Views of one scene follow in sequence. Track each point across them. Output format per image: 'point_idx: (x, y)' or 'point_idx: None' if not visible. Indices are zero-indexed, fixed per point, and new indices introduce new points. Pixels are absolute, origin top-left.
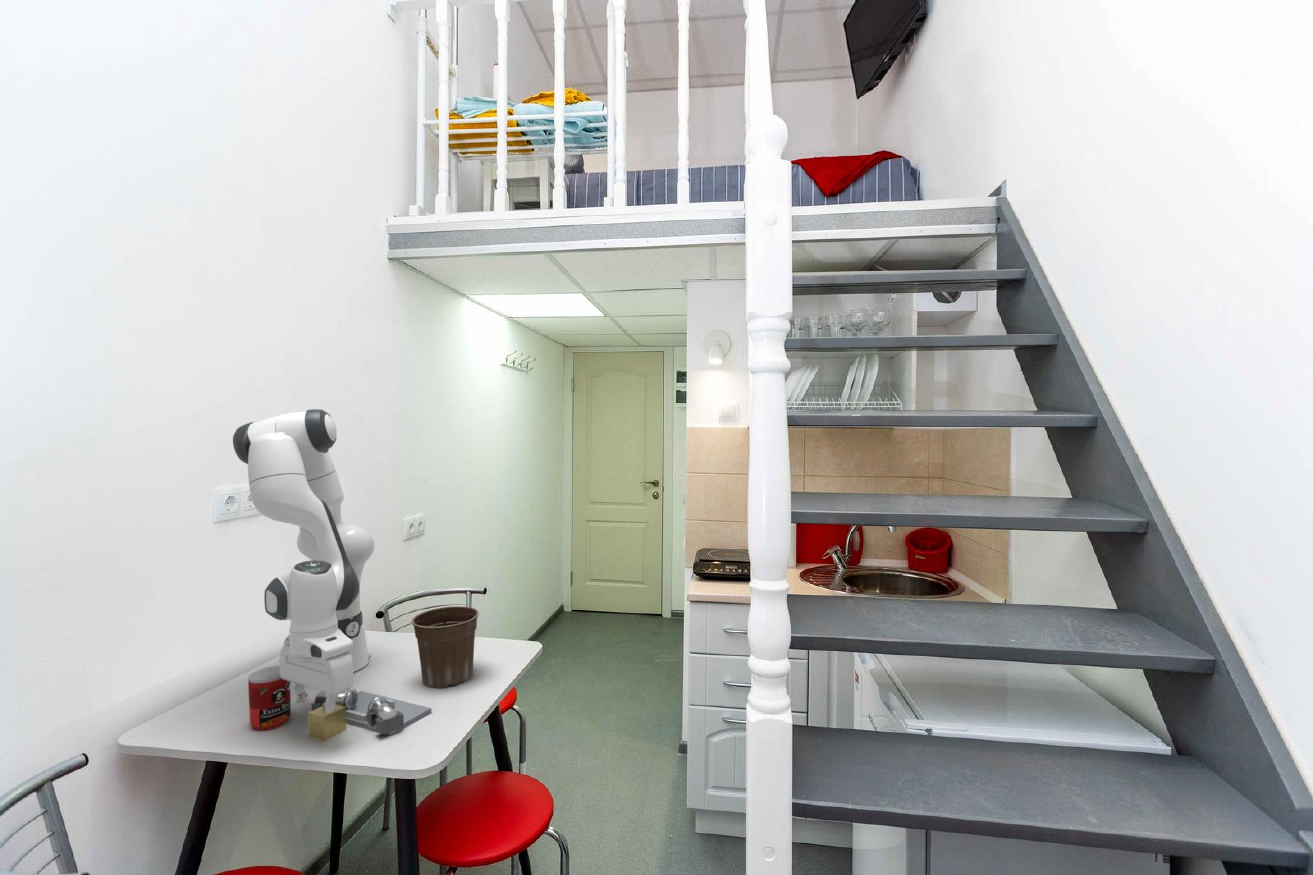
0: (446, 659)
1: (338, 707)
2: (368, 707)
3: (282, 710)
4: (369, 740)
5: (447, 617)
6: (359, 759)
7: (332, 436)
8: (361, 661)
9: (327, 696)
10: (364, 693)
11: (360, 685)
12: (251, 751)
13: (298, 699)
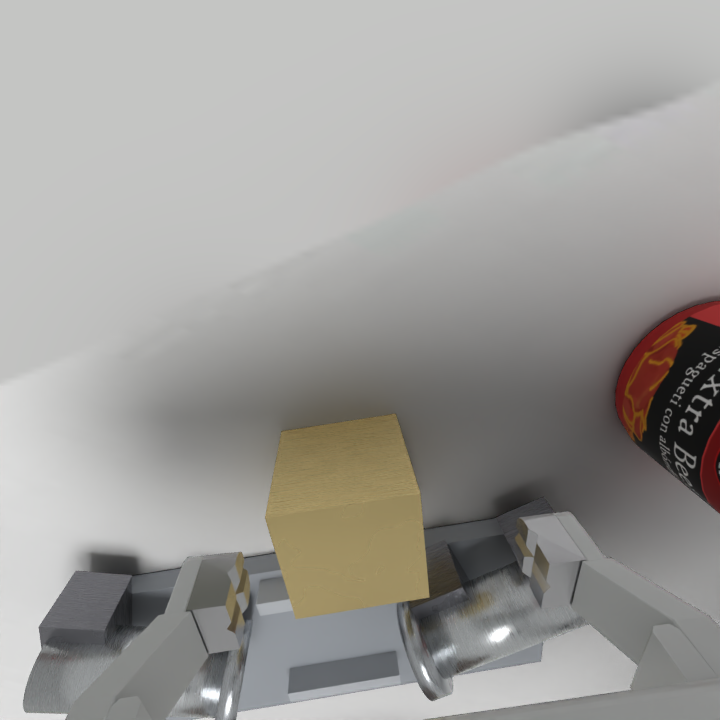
0: None
1: (322, 600)
2: (237, 657)
3: (667, 437)
4: (118, 527)
5: None
6: None
7: None
8: None
9: (103, 709)
10: (505, 660)
11: (602, 665)
12: (513, 180)
13: (546, 537)
